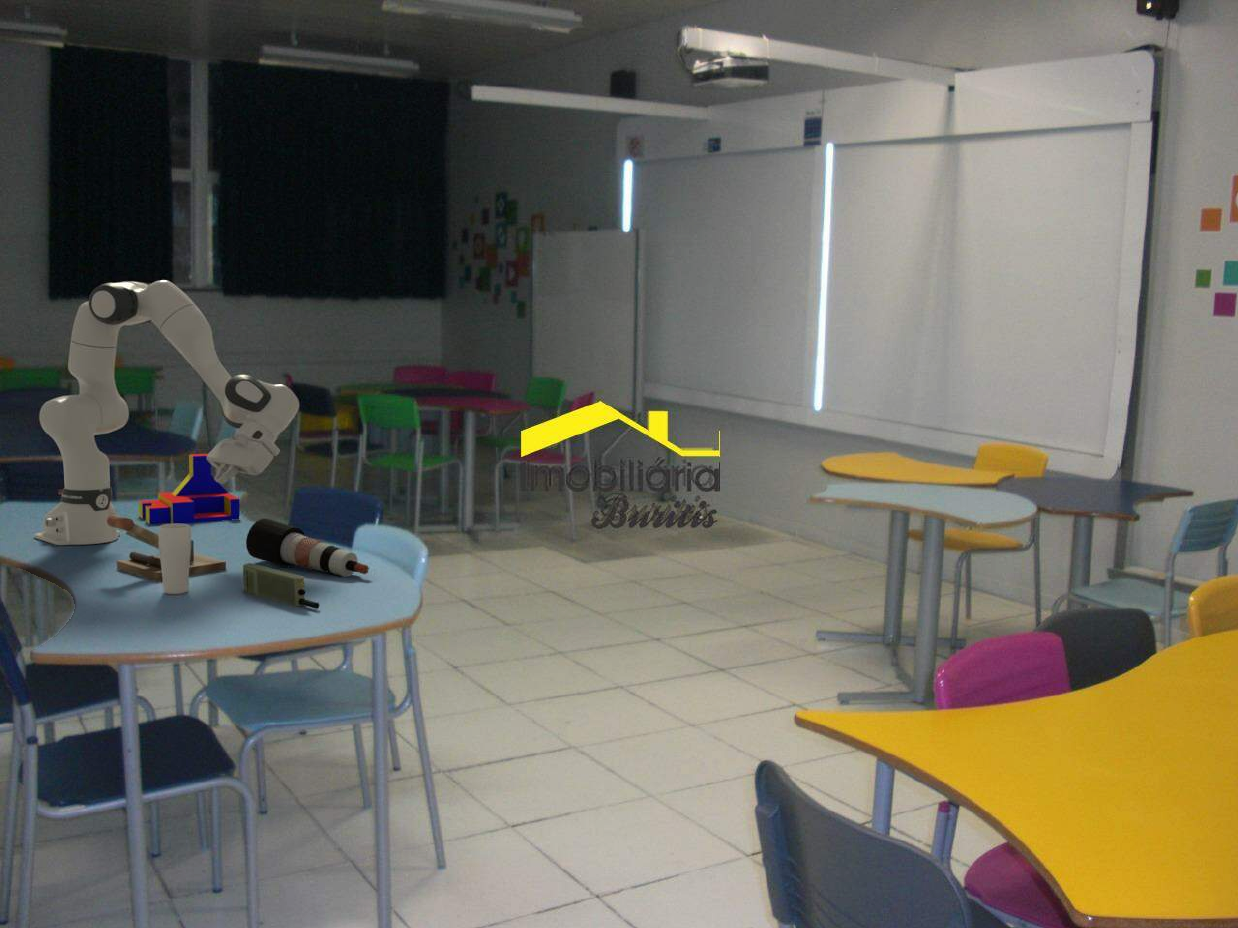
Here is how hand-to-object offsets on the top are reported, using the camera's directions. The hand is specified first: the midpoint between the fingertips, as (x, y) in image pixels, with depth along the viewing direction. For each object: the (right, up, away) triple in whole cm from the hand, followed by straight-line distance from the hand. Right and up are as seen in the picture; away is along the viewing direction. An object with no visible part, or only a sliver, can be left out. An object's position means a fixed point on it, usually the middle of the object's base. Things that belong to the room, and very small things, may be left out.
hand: (218, 481), depth 298 cm
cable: (+24, -22, -4) cm, 33 cm away
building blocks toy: (-29, -12, +61) cm, 69 cm away
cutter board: (-9, -21, -7) cm, 24 cm away
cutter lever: (-6, -17, -5) cm, 19 cm away
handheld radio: (+25, -26, -34) cm, 50 cm away
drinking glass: (0, -24, -30) cm, 38 cm away
